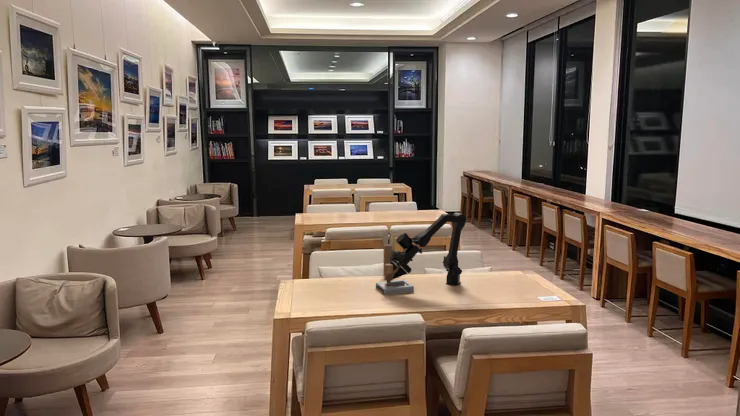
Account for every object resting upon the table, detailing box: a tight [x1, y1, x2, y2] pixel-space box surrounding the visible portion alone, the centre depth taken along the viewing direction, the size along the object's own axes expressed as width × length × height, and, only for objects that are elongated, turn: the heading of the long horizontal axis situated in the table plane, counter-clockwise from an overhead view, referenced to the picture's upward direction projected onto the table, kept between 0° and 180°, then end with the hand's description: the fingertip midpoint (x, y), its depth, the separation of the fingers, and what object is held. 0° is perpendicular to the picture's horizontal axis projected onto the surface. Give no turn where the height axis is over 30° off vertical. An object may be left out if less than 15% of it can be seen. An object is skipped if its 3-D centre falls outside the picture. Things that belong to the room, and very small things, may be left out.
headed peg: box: [382, 264, 394, 292], centre depth 286 cm, size 6×6×14 cm
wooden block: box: [383, 243, 398, 277], centre depth 316 cm, size 9×4×18 cm, turn 95°
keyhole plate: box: [375, 279, 415, 296], centre depth 288 cm, size 16×13×3 cm
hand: (389, 276), depth 286 cm, fingers open, 9 cm apart
